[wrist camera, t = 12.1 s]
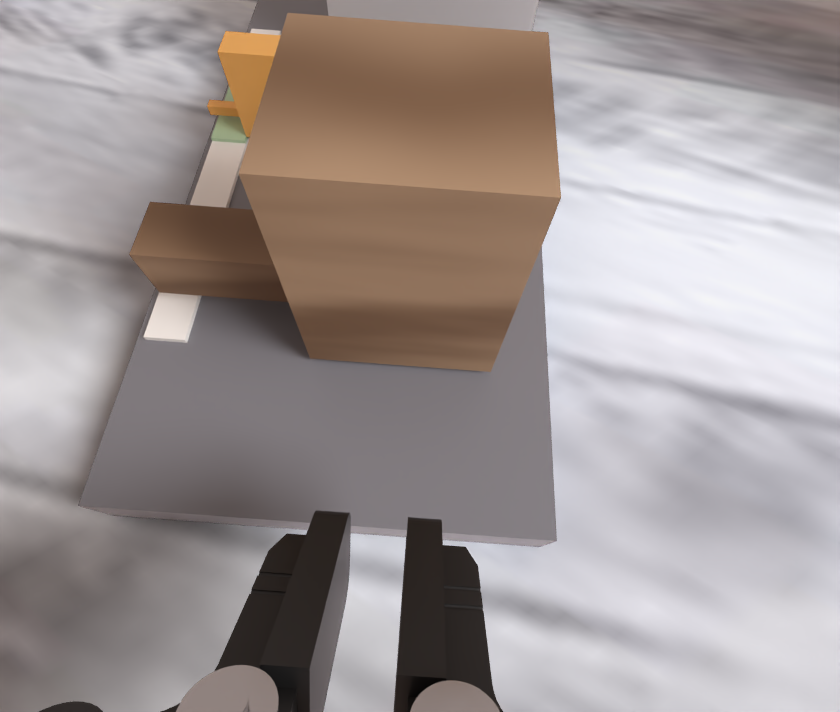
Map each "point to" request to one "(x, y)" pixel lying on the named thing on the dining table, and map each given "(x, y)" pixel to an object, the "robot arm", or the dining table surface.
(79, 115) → the dining table surface
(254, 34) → the pointer
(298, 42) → the brown block
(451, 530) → the gauge base
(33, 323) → the dining table surface
